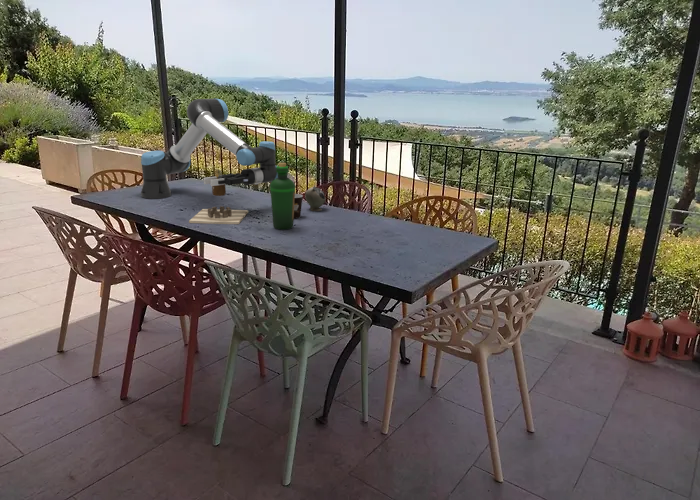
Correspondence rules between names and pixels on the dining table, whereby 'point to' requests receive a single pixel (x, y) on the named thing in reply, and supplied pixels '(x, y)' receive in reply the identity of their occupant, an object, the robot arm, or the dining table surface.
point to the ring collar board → (219, 216)
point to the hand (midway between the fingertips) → (207, 182)
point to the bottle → (282, 199)
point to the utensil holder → (218, 188)
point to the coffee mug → (297, 205)
